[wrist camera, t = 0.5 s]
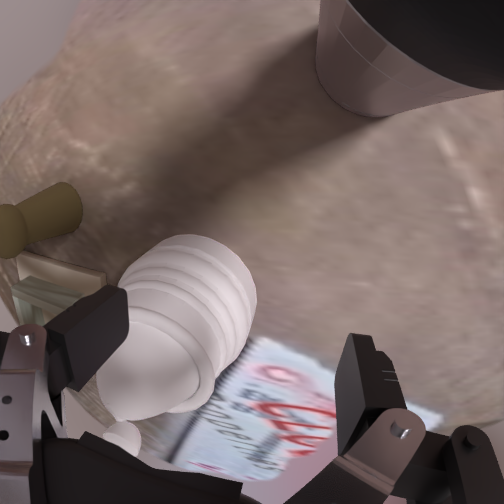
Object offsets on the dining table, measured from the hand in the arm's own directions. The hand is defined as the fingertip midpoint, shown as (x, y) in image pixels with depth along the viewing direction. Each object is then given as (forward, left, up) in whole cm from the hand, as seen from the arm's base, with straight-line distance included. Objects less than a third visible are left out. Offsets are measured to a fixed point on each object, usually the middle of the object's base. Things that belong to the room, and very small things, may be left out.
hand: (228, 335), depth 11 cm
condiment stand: (+18, -26, -18) cm, 36 cm away
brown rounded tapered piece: (+3, -24, -19) cm, 30 cm away
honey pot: (+10, -7, -19) cm, 22 cm away
